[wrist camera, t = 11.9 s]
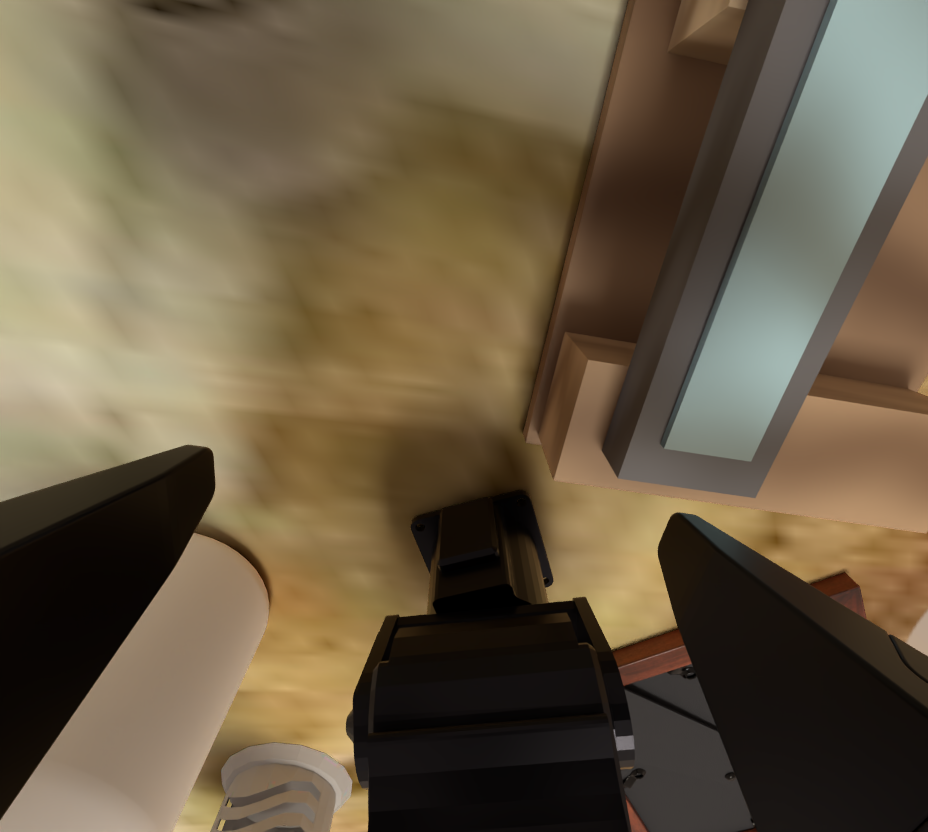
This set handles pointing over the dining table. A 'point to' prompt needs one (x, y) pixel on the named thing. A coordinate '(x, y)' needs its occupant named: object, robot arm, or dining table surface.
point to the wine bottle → (153, 705)
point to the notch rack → (637, 269)
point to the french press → (281, 790)
